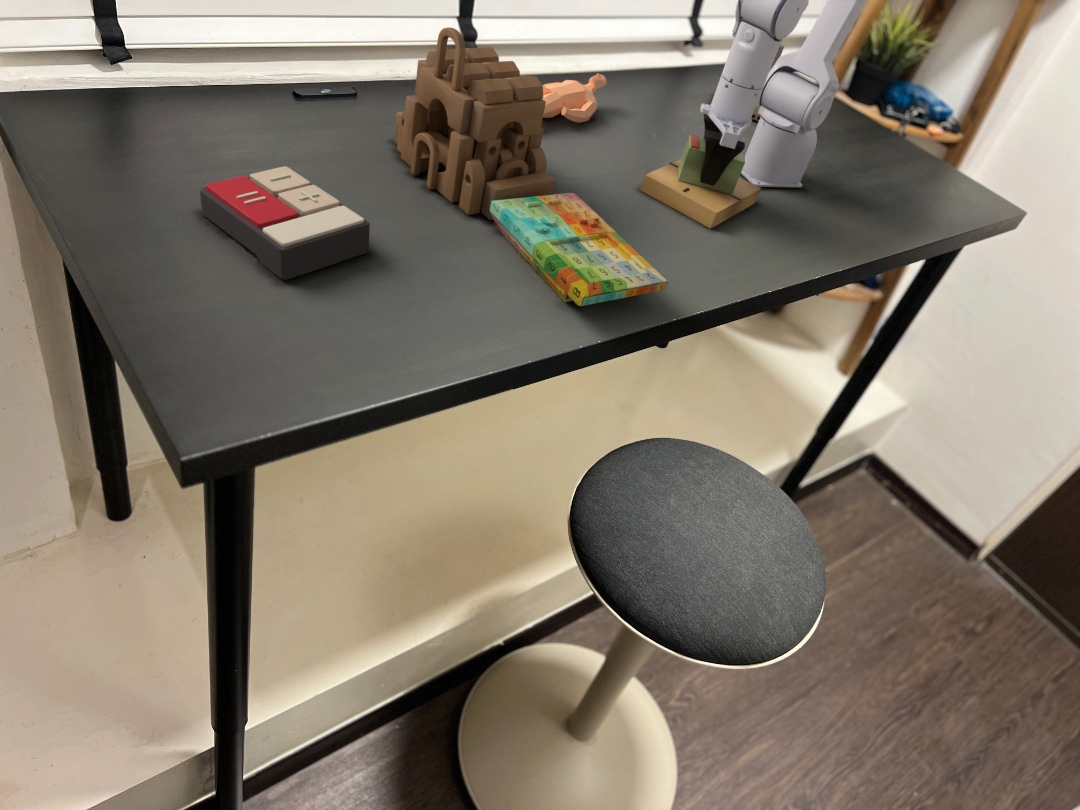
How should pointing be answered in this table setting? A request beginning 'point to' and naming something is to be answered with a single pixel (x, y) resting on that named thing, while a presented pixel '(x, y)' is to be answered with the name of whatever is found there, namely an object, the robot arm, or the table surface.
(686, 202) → the tan flat block
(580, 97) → the male figurine
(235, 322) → the table surface
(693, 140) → the box
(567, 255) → the puzzle game
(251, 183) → the calculator
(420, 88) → the wooden puzzle
